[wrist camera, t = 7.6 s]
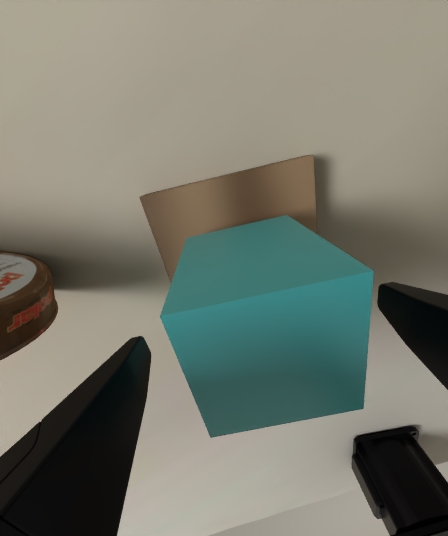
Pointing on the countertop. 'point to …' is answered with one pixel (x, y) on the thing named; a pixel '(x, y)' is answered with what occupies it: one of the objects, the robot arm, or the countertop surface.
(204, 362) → the teal block
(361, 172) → the countertop surface
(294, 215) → the walnut board
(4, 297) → the tin
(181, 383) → the countertop surface
